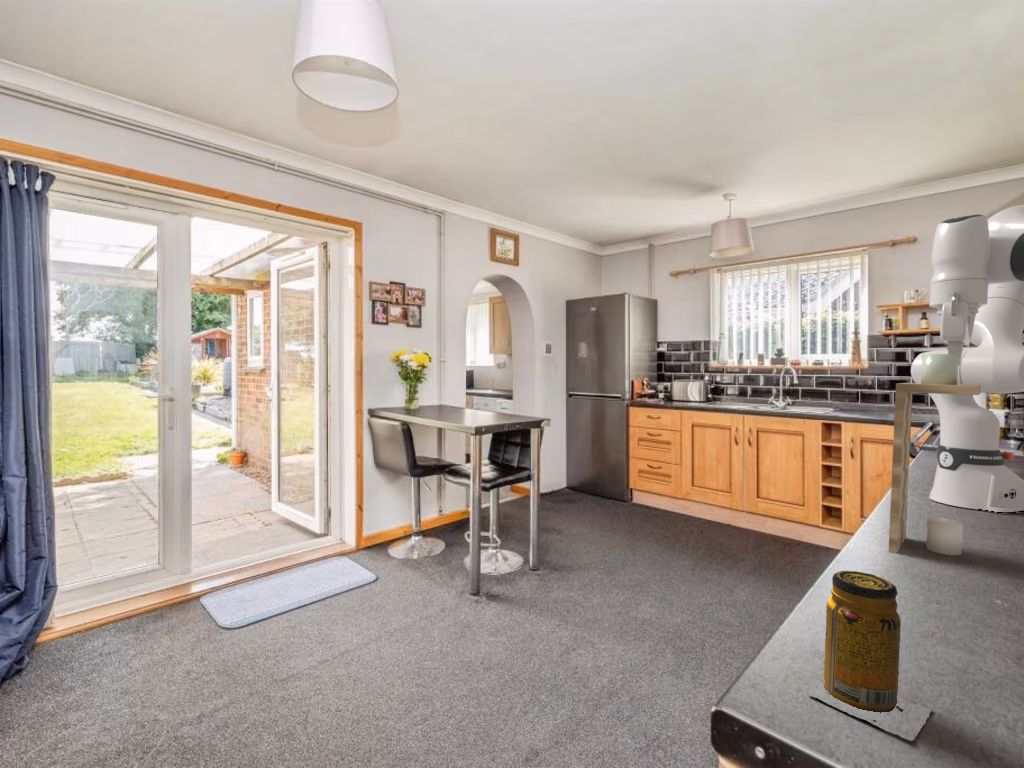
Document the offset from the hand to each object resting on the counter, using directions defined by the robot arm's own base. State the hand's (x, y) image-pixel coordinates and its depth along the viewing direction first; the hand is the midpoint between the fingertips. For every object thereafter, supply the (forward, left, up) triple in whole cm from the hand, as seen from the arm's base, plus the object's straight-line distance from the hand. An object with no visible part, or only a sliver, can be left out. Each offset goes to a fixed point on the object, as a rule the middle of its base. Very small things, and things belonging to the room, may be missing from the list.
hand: (954, 366), depth 103 cm
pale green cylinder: (+13, +10, -4) cm, 17 cm away
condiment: (+58, +51, -34) cm, 84 cm away
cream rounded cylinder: (+10, +10, -34) cm, 37 cm away
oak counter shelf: (+13, +10, -34) cm, 38 cm away
